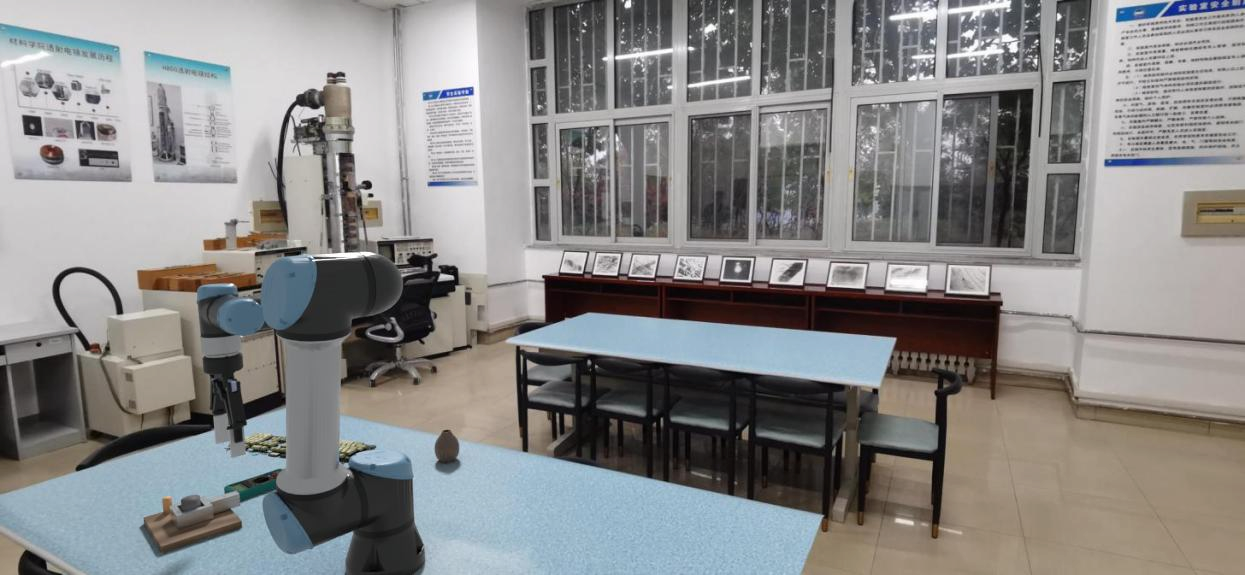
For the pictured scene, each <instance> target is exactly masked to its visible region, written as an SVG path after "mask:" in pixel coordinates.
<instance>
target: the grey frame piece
mask: <svg viewBox="0 0 1245 575" xmlns="http://www.w3.org/2000/svg"><path fill="white" fill-rule="evenodd" d="M200 503H201V507H199V508H195V509H192V510H189V511H185V512H182V509H181V502H179V503H176V504H172V506H170V516H171V520H172V521H173V523H174V524H175V525H176V527H177V528H178V529H180V528H183V527H186V526H189V525H193V524H196V523H199V522H202V521H206V520H209V519H212V518H214V516H213V514H215V513H219V512H222V511H225V510H228V509H231V510H233V509H235V508H238V507H240V506H241V501H240V495H239V493H238V492H237V491H234V492H230V493H227V494H225V493H224V494H219V495H216V496H214V497H210V498H207V497H206V496H205V495H204V496H200Z"/></svg>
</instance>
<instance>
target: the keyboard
mask: <svg viewBox="0 0 1245 575" xmlns="http://www.w3.org/2000/svg"><path fill="white" fill-rule="evenodd" d="M244 438H245V450H246V452H248V453H251V452H252V453H251V456H257V455H259V453H262V455H263V456H265V455H267V456H268V457H273V458H277V457H279V458H283V459H286V436H278V435H274V434H273V433H262V432H261V433H260V432H259V433H258V432H255V433H253V434H251V435H249V436H246V437H244ZM269 440H270V441H269ZM280 443H283V444H281V445H280V446H279V444H280ZM278 446H279V447H278ZM371 448H372V449H371ZM375 448H377V445H374V444H369V445H367V444H366V443H365V442H362V441H354V440H353V441H352V440H344V439H342V440H341V439H339V462H340V463H341V464H343V465H344V464H345V463H347V464H348V462H349V459H350V457H352V456H353V455H354V454H356V453H359V452H363V451H368V450H375ZM224 449H226V451H227V452H228V451H229V450H230V443H229V444H228V447H227V448H225V447H224ZM249 449H251V450H249ZM268 451H269V452H268Z"/></svg>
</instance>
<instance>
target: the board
mask: <svg viewBox="0 0 1245 575" xmlns="http://www.w3.org/2000/svg"><path fill="white" fill-rule="evenodd" d="M200 497H201V495H199V494H189V495H186V496H183V497H182V498H181V499H180V503H181V509H182V512H185V511H189V510H192V509H195V508H199V507H201V503H200ZM213 516H214V518H212V519H209V520H206V521H202V522H199V523H196V524H193V525H189V526H186V527H183V528H180V529H178V528H177V527H176V525H175V524H174V523H173V521H172V520H171V516H170V513H169V514H164V513H163V511H161V512H158V513H154V514H151V515H148V516H145V517H143V524H144V526H145V528H146V529H147V532H148V533H149V535H150V536H151V538H152V540H153V541H154V543H155V545H156V546H157V548H158V549H159V551H160V553H161V554H164V553H167V552H171V551H173V550H177V549H180V548H182V547H185V546H188V545H191V544H194V543H197V542H200V541H203V540H206V539H210V538H213V537H215V536H219V535H222V534H225V533H228V532H231V531H233V530H234V531H235V530H238V529H240V528H243V521H242V520H241V518H240V517H239V516H238V515H237V514H236V513H235V512H234V510H233V509H228V510H225V511H222V512H219V513H215V514H213Z"/></svg>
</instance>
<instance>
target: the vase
mask: <svg viewBox="0 0 1245 575" xmlns="http://www.w3.org/2000/svg"><path fill="white" fill-rule="evenodd" d="M433 449H434V455H435V457H436V459H437V460H438V461H439V462H441V463H443V462H448V463H452V462H454V461H455V460H456V459H457V458H458V456H459V453H460V441H459V439H458V437H456V435H455V434H454V433H453V432H452V430H451V429H449V428H448V429H442V431H441V434H440V435H439V436H438V437H437V439H436V440H435V443H434V448H433ZM453 460H454V461H453ZM451 461H452V462H451Z"/></svg>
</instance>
